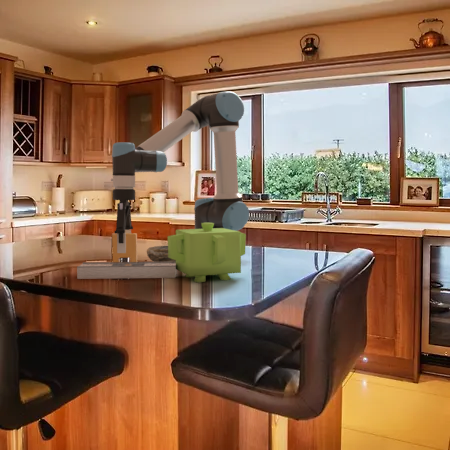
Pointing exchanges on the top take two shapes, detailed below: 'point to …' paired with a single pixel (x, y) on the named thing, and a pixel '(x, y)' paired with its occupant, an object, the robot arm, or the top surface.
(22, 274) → the top surface
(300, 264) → the top surface
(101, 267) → the rail
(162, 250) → the stone
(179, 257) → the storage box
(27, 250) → the top surface
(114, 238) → the tall orange block
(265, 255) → the top surface
